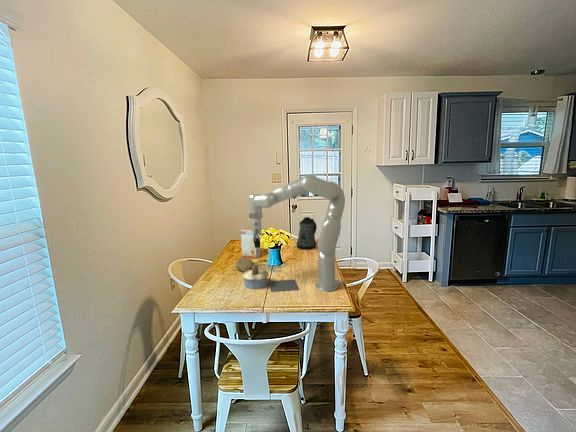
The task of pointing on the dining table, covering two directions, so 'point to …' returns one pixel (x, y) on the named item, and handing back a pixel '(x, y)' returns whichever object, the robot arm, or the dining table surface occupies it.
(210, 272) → the dining table surface
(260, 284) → the cup
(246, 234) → the cracker box
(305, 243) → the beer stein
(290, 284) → the mat
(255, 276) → the lid
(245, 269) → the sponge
